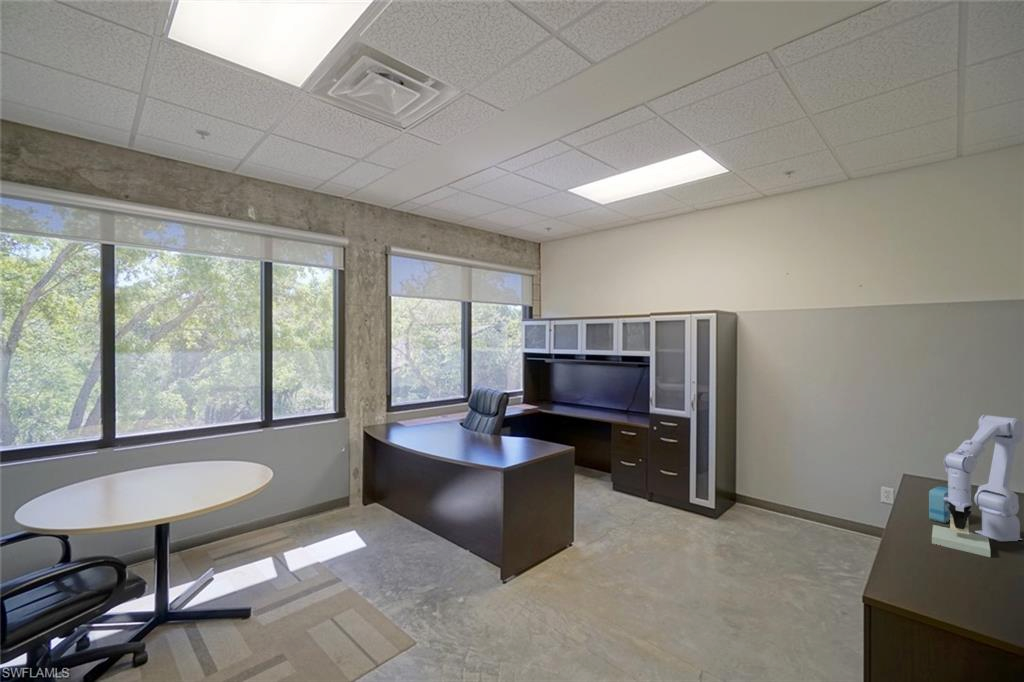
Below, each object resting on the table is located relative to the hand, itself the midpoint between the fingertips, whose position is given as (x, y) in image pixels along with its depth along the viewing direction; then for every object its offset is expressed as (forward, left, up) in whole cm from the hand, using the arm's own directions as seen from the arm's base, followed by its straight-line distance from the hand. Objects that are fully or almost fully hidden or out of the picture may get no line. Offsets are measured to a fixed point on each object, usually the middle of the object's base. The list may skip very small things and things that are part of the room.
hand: (959, 526), depth 154 cm
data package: (-16, -20, -6) cm, 27 cm away
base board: (0, 0, -6) cm, 6 cm away
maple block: (0, 0, -2) cm, 2 cm away
